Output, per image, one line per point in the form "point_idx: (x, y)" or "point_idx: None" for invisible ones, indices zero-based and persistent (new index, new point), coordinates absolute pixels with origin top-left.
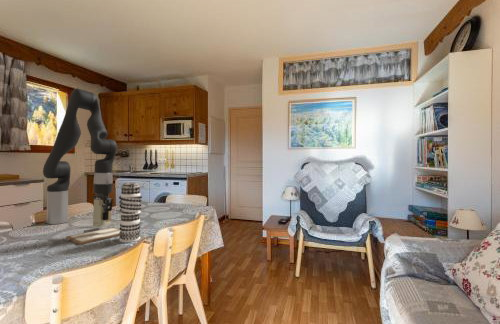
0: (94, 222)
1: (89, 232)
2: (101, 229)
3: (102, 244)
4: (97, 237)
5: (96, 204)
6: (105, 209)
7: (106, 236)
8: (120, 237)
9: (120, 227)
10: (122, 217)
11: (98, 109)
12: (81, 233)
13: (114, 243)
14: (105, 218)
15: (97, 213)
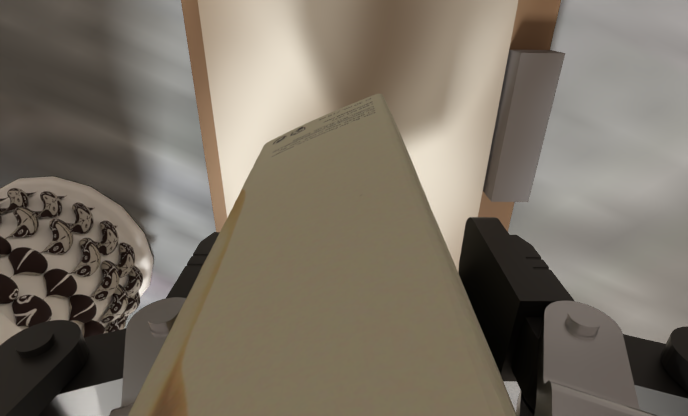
0: (355, 116)
1: (488, 88)
2: (507, 220)
3: (40, 23)
4: (222, 59)
5: (316, 390)
6: (23, 364)
7: (218, 144)
8: (15, 190)
9: (20, 262)
10: None
11: None
12: (553, 19)
13: (10, 115)
14: (205, 247)
15: (296, 209)
